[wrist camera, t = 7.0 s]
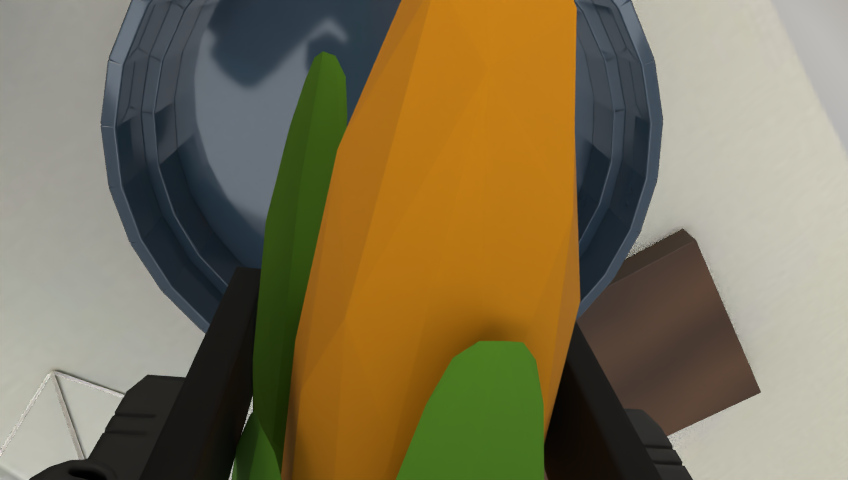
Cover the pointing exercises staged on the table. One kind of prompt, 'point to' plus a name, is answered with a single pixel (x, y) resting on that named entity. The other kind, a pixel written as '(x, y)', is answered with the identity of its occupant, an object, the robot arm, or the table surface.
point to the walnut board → (668, 337)
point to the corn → (422, 255)
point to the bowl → (356, 53)
